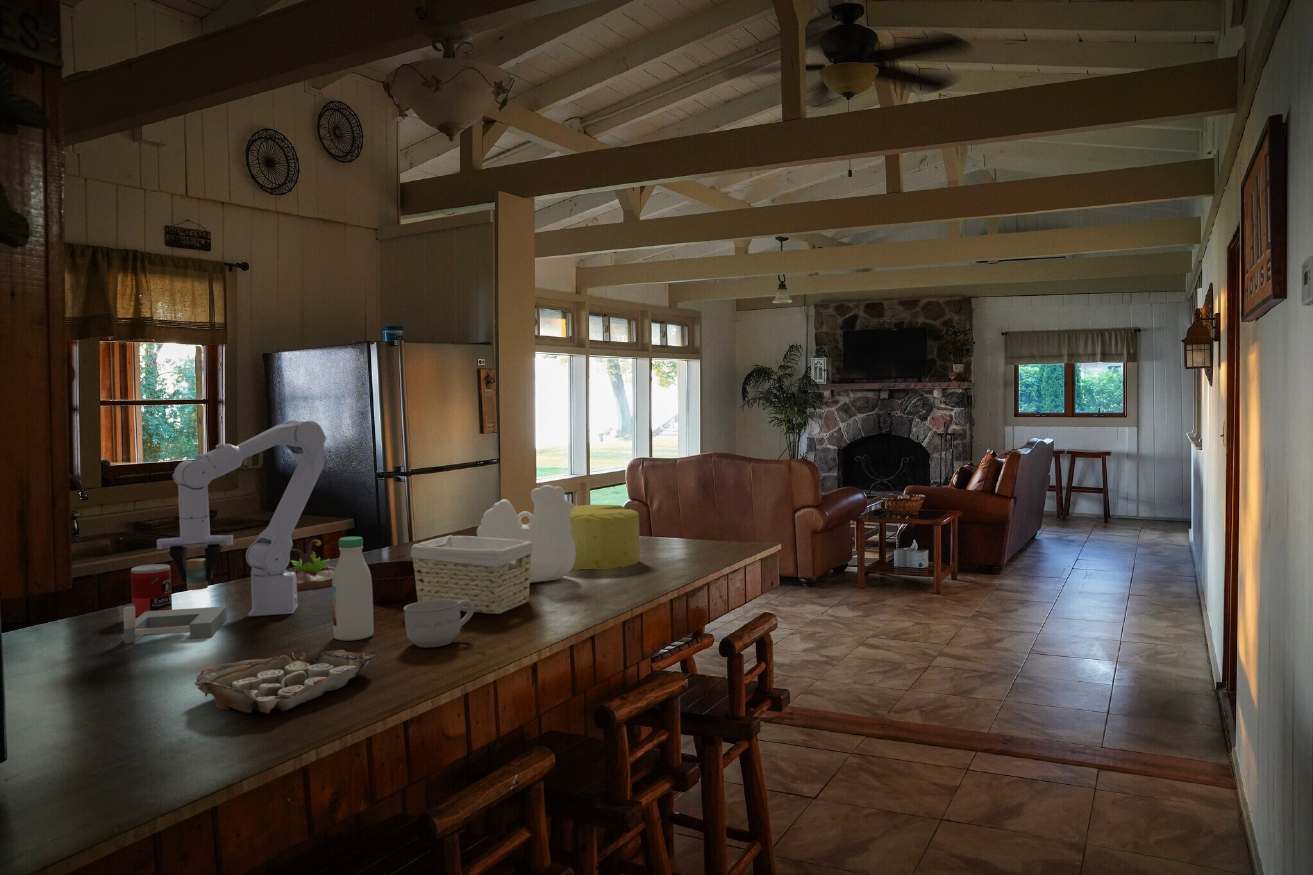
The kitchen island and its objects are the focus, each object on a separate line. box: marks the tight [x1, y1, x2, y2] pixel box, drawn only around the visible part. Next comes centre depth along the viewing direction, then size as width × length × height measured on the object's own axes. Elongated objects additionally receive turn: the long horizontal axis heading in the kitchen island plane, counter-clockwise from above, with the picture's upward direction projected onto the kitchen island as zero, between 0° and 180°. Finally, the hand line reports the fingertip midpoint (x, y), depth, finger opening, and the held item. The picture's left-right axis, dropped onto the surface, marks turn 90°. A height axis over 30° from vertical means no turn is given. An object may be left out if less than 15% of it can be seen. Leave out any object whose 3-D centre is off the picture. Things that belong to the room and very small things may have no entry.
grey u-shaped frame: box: [123, 605, 228, 644], centre depth 195 cm, size 16×16×7 cm
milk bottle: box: [331, 536, 375, 642], centre depth 188 cm, size 8×8×20 cm
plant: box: [286, 539, 336, 592], centre depth 245 cm, size 20×20×11 cm
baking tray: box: [193, 649, 376, 715], centre depth 155 cm, size 30×22×5 cm
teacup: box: [403, 599, 475, 649], centre depth 183 cm, size 14×11×8 cm
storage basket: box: [410, 534, 533, 615], centre depth 215 cm, size 24×16×15 cm
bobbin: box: [185, 557, 209, 591], centre depth 200 cm, size 4×4×6 cm
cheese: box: [570, 504, 641, 570], centre depth 268 cm, size 26×26×15 cm
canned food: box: [130, 563, 173, 619], centre depth 209 cm, size 8×8×11 cm
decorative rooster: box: [476, 484, 576, 584], centre depth 242 cm, size 25×16×25 cm, turn 75°
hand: (197, 580), depth 200 cm, fingers closed on bobbin, 4 cm apart
